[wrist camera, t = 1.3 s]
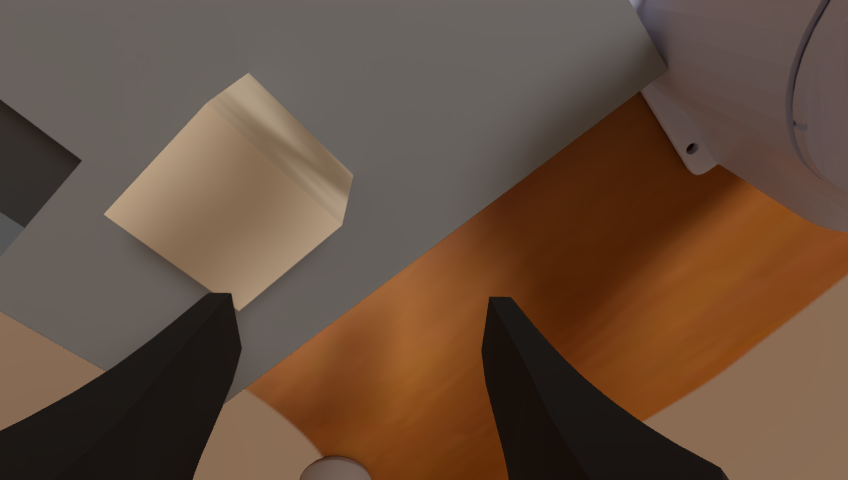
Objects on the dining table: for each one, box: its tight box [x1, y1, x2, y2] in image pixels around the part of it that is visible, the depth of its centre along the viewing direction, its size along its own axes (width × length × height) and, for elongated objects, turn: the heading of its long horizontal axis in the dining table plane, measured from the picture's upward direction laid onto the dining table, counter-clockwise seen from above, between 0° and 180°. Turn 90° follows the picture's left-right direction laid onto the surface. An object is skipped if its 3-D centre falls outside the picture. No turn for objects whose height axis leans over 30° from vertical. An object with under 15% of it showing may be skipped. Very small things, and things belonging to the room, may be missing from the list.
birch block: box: [104, 73, 353, 311], centre depth 16 cm, size 5×5×4 cm
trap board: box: [0, 0, 668, 404], centre depth 16 cm, size 28×27×4 cm
